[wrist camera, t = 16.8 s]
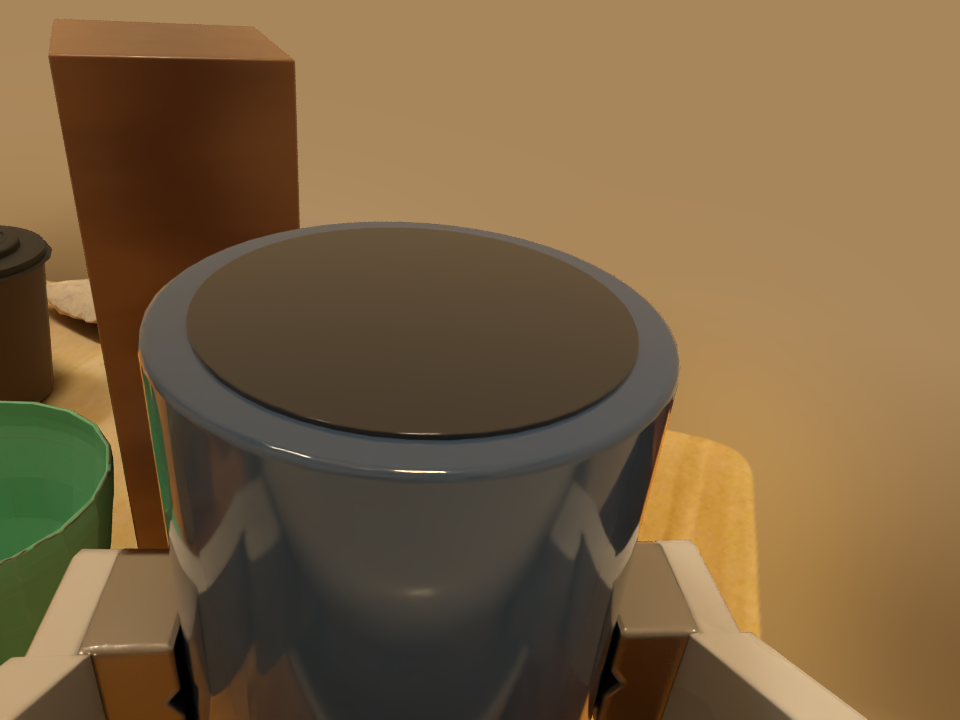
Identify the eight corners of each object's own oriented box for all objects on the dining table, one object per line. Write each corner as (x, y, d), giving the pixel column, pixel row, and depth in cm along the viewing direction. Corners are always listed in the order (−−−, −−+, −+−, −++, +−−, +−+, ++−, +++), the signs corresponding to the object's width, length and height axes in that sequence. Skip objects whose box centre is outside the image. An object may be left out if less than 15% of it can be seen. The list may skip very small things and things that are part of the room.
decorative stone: (172, 350, 52) (175, 308, 51) (-2, 317, 52) (-2, 274, 51) (215, 319, 60) (219, 282, 59) (65, 290, 59) (66, 252, 58)
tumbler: (260, 1147, 9) (161, 542, 4) (206, 777, 13) (120, 231, 8) (602, 963, 11) (805, 401, 6) (468, 688, 15) (529, 205, 10)
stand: (163, 689, 30) (47, 53, 18) (151, 582, 35) (52, 18, 23) (312, 646, 33) (295, 59, 21) (282, 551, 37) (254, 26, 25)
